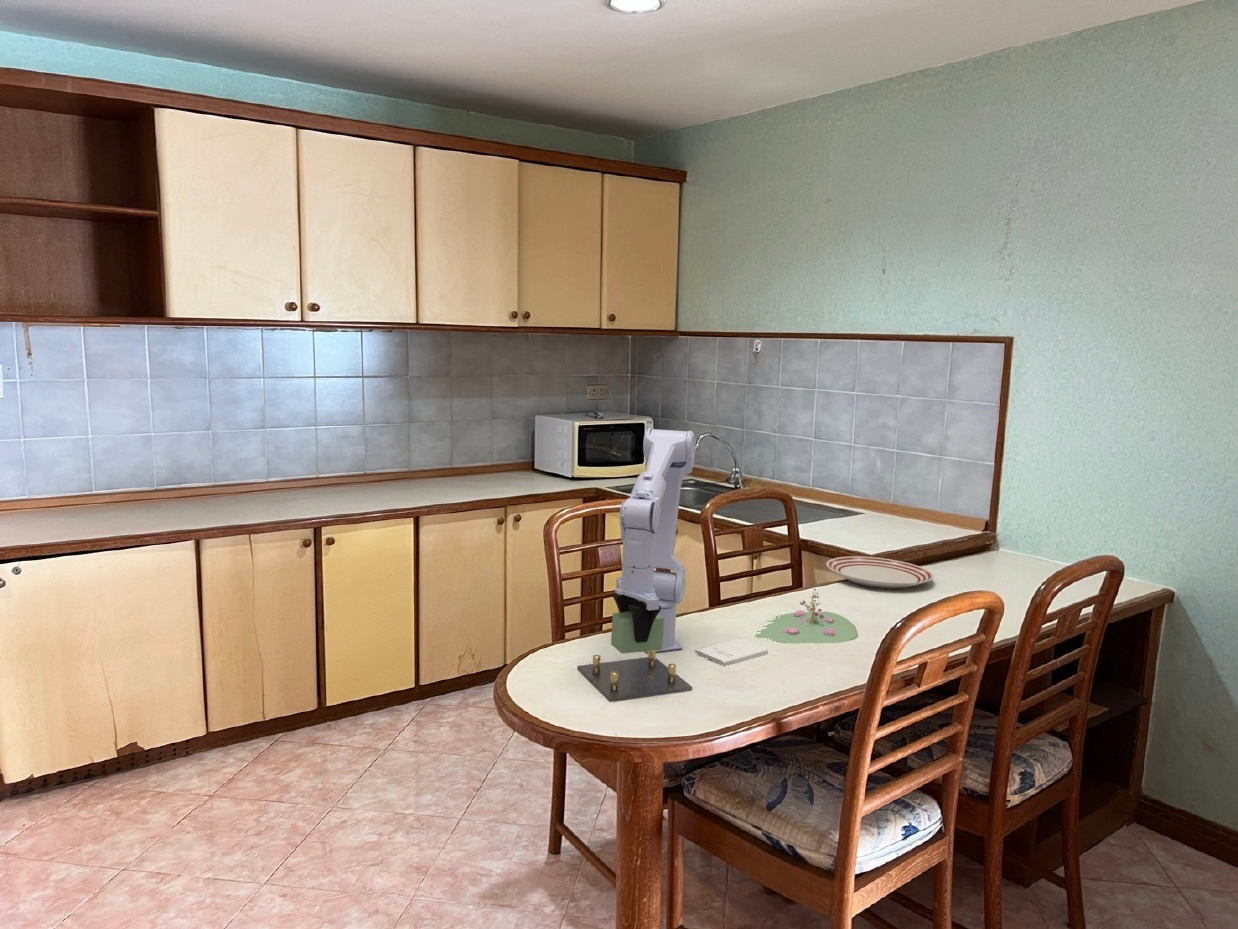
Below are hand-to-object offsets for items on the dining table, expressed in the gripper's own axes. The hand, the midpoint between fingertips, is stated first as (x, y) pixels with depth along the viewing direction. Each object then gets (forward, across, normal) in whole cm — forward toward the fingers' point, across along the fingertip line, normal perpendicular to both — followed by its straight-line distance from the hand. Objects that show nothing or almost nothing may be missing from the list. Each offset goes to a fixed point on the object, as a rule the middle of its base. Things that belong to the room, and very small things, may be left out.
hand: (635, 636), depth 168 cm
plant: (+9, -14, +47) cm, 50 cm away
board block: (+2, 0, 0) cm, 2 cm away
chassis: (+8, 0, 0) cm, 8 cm away
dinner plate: (+9, -43, +91) cm, 101 cm away
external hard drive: (+9, -6, +24) cm, 27 cm away
